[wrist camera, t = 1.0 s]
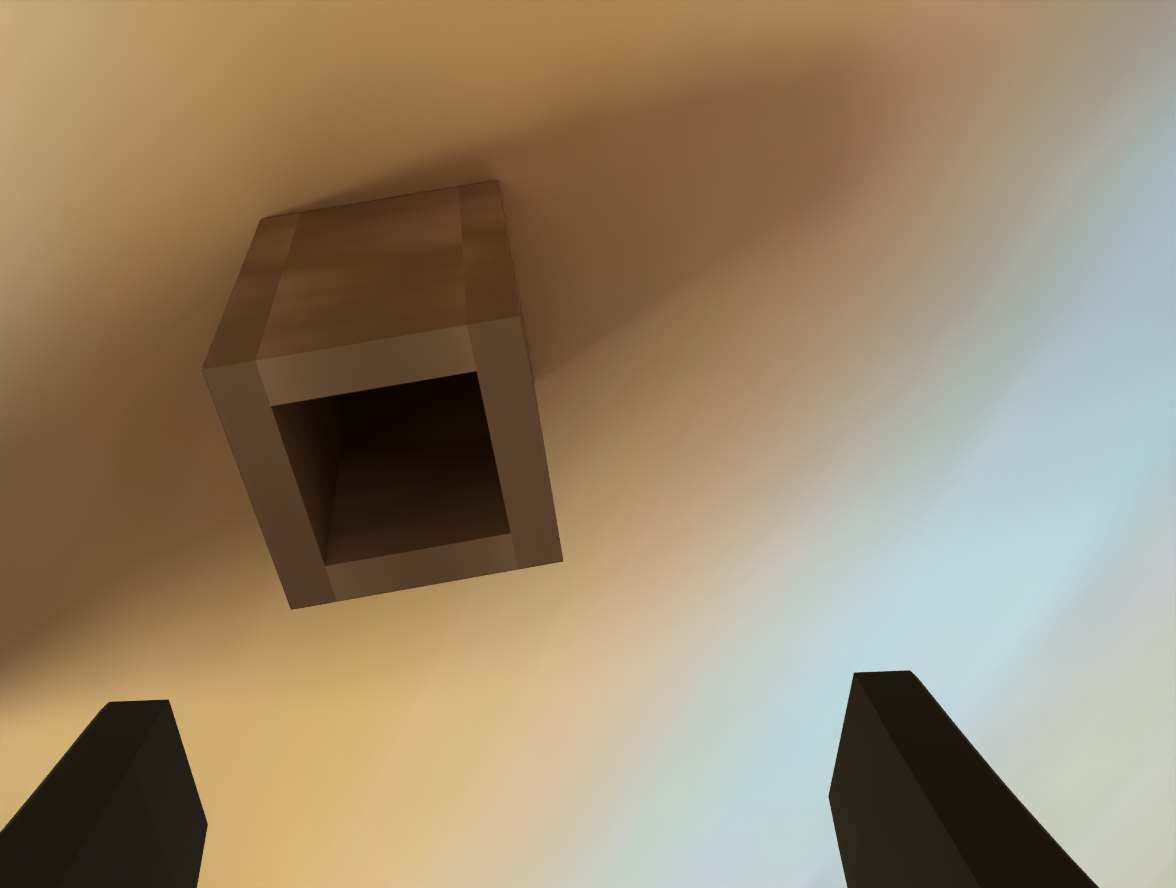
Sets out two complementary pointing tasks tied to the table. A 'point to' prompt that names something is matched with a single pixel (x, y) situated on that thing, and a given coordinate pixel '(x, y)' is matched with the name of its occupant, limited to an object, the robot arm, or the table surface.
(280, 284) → the hollow wooden block
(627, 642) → the table surface
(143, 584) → the table surface
